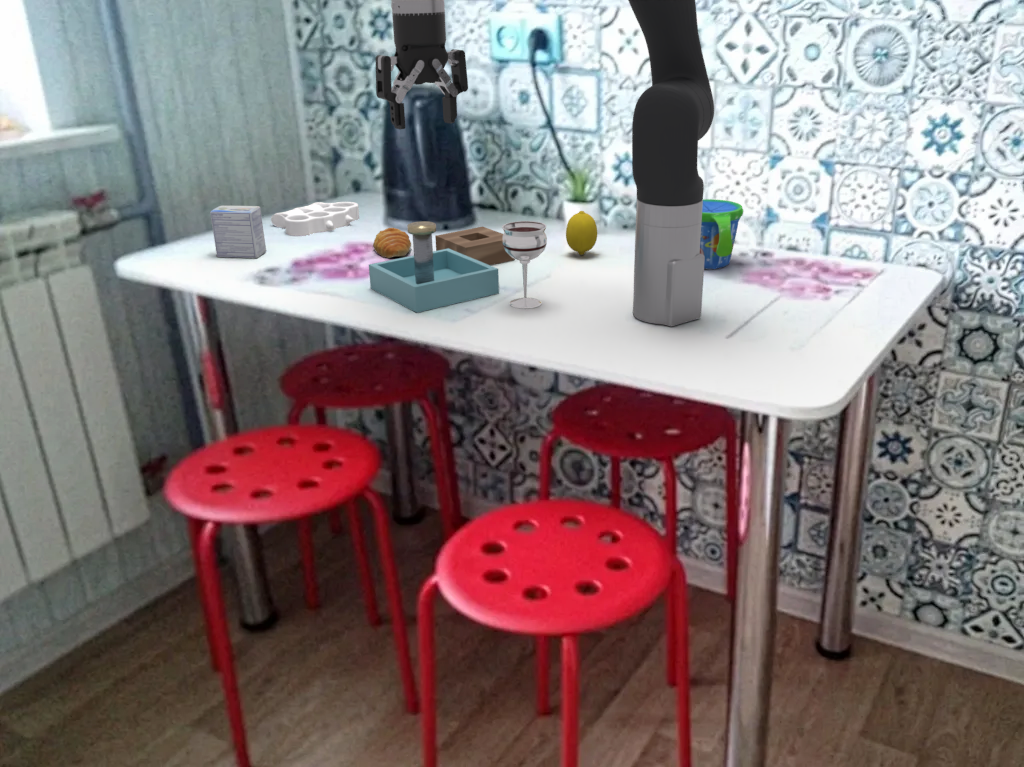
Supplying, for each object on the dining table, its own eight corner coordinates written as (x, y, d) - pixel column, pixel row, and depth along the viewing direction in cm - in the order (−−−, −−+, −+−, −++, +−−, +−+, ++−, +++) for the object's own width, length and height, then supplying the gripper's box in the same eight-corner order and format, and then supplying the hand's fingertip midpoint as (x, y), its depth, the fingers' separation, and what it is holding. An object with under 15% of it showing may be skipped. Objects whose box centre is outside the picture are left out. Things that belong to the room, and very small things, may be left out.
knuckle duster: (324, 212, 207) (375, 221, 199) (259, 231, 193) (312, 241, 186) (322, 197, 205) (374, 205, 198) (257, 214, 192) (310, 224, 184)
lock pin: (444, 287, 153) (441, 225, 149) (420, 292, 151) (416, 230, 147) (430, 280, 157) (426, 219, 153) (406, 285, 154) (402, 224, 150)
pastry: (416, 258, 173) (414, 237, 171) (378, 262, 171) (376, 241, 170) (407, 245, 181) (406, 225, 180) (371, 248, 180) (370, 228, 178)
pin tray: (499, 293, 153) (498, 268, 152) (416, 312, 146) (415, 287, 144) (449, 271, 165) (448, 248, 163) (370, 288, 157) (368, 264, 155)
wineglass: (550, 297, 151) (550, 221, 146) (543, 311, 145) (542, 233, 140) (508, 295, 152) (506, 220, 148) (499, 309, 146) (497, 231, 141)
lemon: (585, 261, 168) (586, 216, 165) (559, 256, 171) (559, 212, 168) (602, 254, 172) (603, 209, 169) (577, 249, 175) (577, 205, 172)
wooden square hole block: (514, 259, 170) (514, 237, 168) (466, 270, 165) (465, 247, 163) (483, 247, 178) (482, 226, 176) (436, 257, 172) (435, 235, 171)
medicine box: (267, 252, 178) (261, 205, 174) (257, 259, 174) (251, 211, 170) (227, 251, 179) (220, 204, 176) (216, 257, 175) (209, 210, 172)
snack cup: (667, 252, 172) (669, 196, 168) (725, 250, 173) (729, 194, 169) (686, 279, 158) (689, 218, 154) (749, 277, 158) (754, 215, 154)
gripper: (386, 12, 132) (395, 134, 138) (474, 8, 139) (478, 123, 146) (361, 11, 137) (371, 128, 144) (447, 6, 145) (452, 118, 151)
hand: (425, 125), depth 145 cm, fingers open, 8 cm apart
